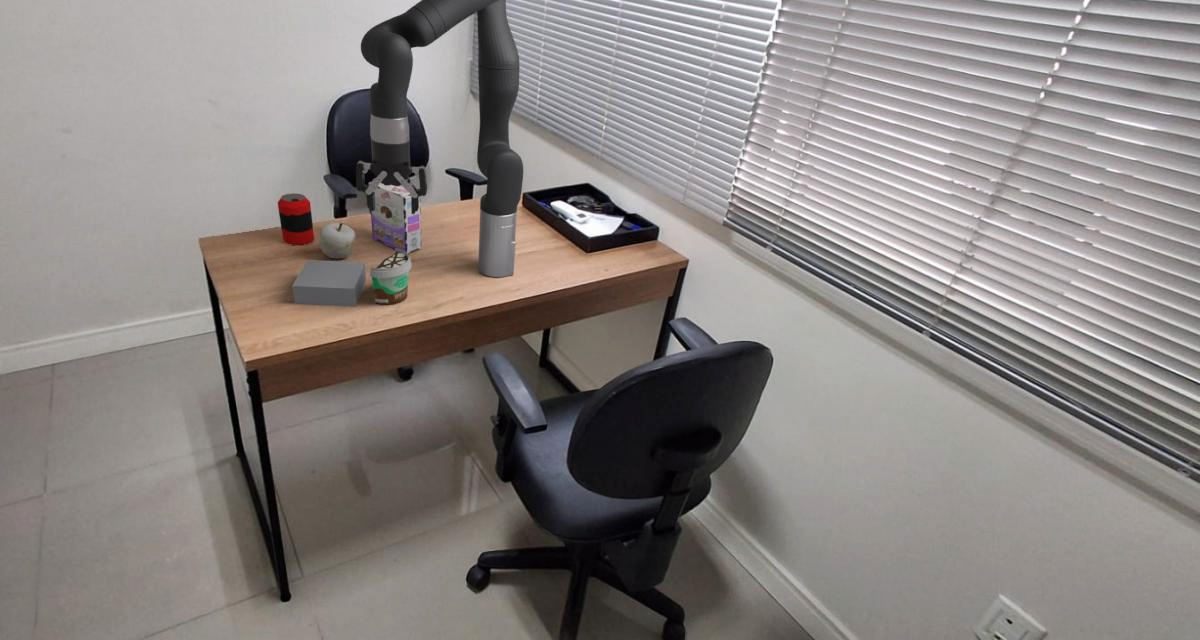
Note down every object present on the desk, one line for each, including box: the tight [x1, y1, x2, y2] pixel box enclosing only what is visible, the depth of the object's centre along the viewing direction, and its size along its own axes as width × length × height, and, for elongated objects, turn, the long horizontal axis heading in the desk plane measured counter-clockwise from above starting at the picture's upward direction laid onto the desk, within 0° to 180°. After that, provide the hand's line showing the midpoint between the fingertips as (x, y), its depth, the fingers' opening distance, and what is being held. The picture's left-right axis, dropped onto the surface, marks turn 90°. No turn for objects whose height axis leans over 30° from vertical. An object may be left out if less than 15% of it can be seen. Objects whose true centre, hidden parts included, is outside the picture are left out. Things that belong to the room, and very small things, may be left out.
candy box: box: [367, 181, 423, 255], centre depth 165 cm, size 14×6×16 cm, turn 58°
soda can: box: [277, 192, 315, 246], centre depth 161 cm, size 8×8×12 cm
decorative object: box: [318, 221, 357, 260], centre depth 156 cm, size 9×9×10 cm
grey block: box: [291, 259, 367, 307], centre depth 143 cm, size 13×13×5 cm
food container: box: [369, 248, 413, 306], centre depth 143 cm, size 12×6×10 cm, turn 168°
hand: (393, 211), depth 134 cm, fingers open, 8 cm apart
